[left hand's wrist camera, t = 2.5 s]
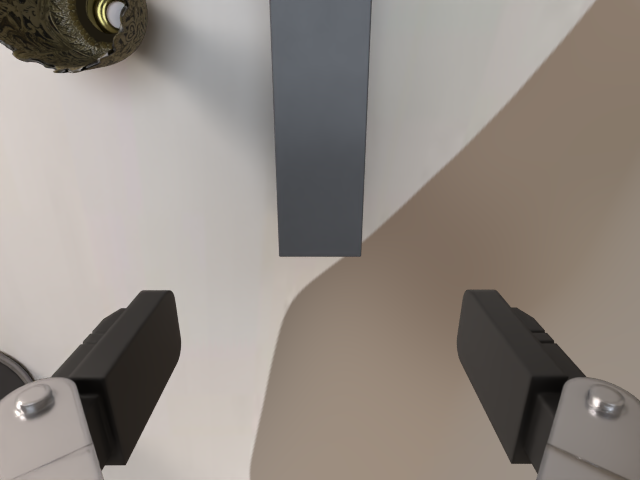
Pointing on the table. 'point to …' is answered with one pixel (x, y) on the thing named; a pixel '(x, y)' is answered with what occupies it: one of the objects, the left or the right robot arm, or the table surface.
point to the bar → (320, 123)
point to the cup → (71, 32)
